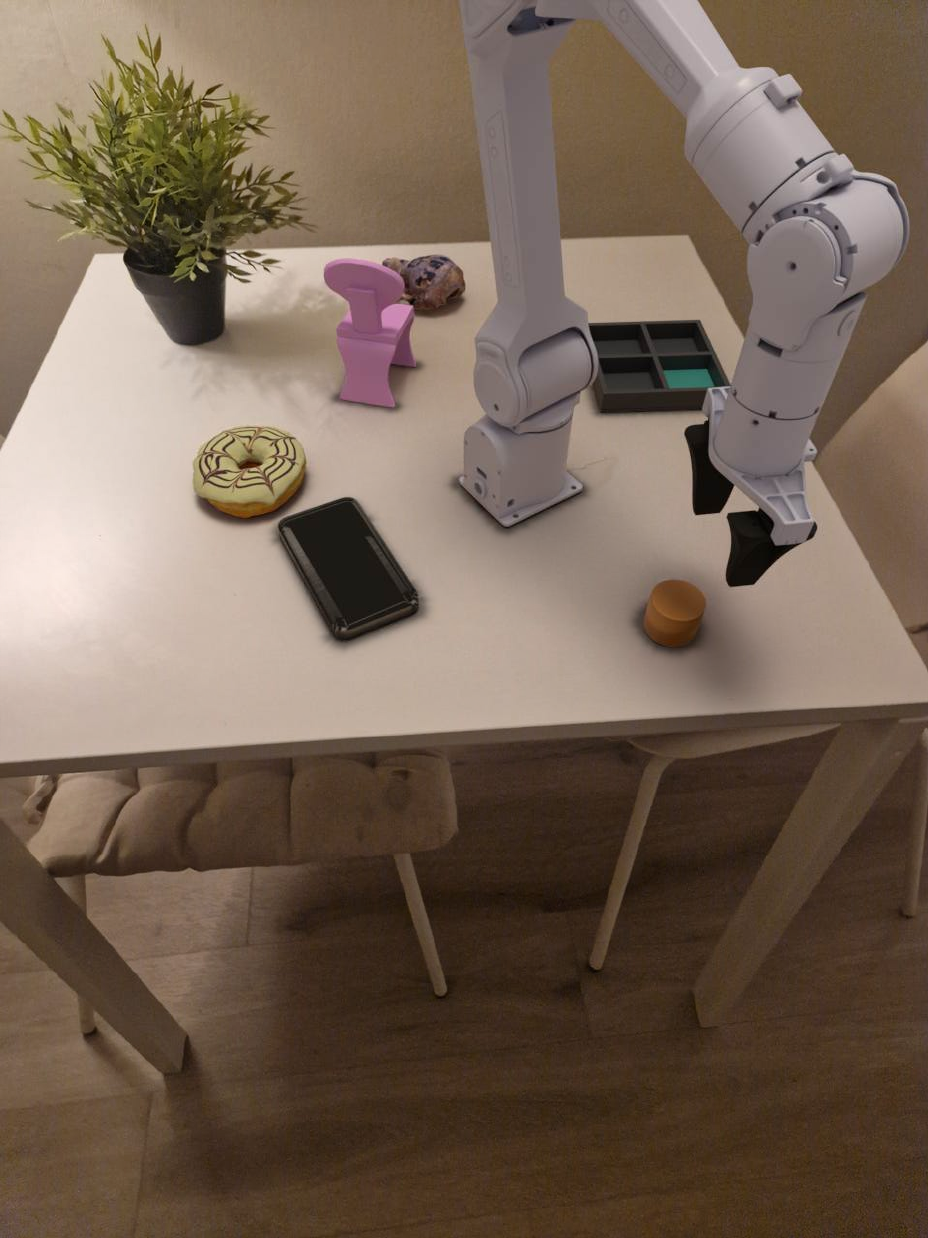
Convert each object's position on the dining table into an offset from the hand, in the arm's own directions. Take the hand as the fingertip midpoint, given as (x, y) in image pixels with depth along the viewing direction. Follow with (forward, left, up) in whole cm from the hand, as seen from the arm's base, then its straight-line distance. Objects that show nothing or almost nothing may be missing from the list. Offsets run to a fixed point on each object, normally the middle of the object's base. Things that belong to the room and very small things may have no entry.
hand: (722, 545), depth 61 cm
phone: (-22, +22, -9) cm, 32 cm away
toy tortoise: (+9, +58, -9) cm, 59 cm away
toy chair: (-5, +45, -9) cm, 46 cm away
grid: (+21, +29, -9) cm, 37 cm away
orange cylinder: (-3, +1, -9) cm, 9 cm away
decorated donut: (-24, +37, -9) cm, 44 cm away
